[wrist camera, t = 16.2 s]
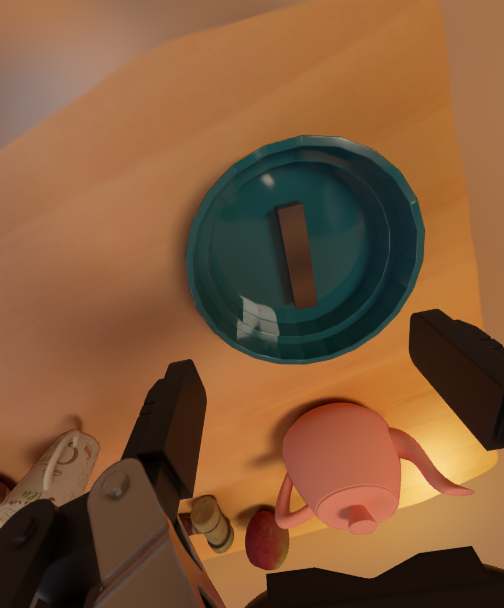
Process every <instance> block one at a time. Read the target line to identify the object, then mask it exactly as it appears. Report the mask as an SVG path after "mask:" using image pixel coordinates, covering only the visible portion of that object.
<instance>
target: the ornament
mask: <svg viewBox="0 0 504 608" xmlns="http://www.w3.org/2000/svg"><path fill="white" fill-rule="evenodd" d="M10 492H11V491H10V490H9V489H8V488H7V487H6V486H5V485H4V484H3V483H1V482H0V504H1V503H2V502H3V500H4V499H5V498H6V497H7V496H8V495H9V494H10ZM0 528H1V527H0Z"/></svg>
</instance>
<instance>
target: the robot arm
mask: <svg viewBox="0 0 504 608" xmlns="http://www.w3.org/2000/svg"><path fill="white" fill-rule="evenodd" d="M409 354H410V357H411V359H412V362H413V363H414V365H415V366H416V367H417V369H418V370H419V371H420V372H421V373H422V375H423V376H424V377H425V378H426V379H427V380H428V382H429V383H430V384H431V385H432V386H433V388H434V389H435V390H436V391H437V392H438V393H439V395H440V396H441V397H442V398H443V399H444V401H445V402H446V403H447V404H448V405H449V407H450V408H451V409H452V410H453V411H454V412H455V414H456V415H457V416H458V417H459V418H460V420H461V421H462V422H463V423H464V424H465V425H466V427H467V428H468V429H469V430H470V431H471V433H472V434H473V435H474V436H475V437H476V439H477V440H478V441H479V442H480V443H481V444H482V446H483V447H484V448H485V449H486V450H487V451H490V450H496V449H502V448H504V347H503V346H502V344H500V343H499V342H497V341H496V340H495V339H491V337H490V336H489V335H487V334H486V333H485V332H483V331H482V330H480V329H479V328H478V327H476V326H473V325H471V324H468V323H466V322H463V321H461V320H453V319H451V318H450V317H449V316H447V315H446V314H445V313H443V312H442V311H441V310H439V309H432V310H427V311H423V312H418V313H413V314H412V315H411V318H410V334H409ZM206 405H207V398H206V392H205V388H204V386H203V384H202V381H201V379H200V377H199V374H198V372H197V370H196V367H195V365H194V363H193V361H192V360H191V359H188V360H183V361H178V362H173V363H170V364H169V366H168V369H167V371H166V374H165V377H164V379H159V380H158V381H157V382H156V383H155V384H154V385H153V387H152V388H151V389H150V390H149V392H148V394H147V397H146V399H145V402H144V406H142V409H141V411H140V414H139V415H140V416H139V417H138V419H137V421H136V423H135V426H134V428H133V431H132V433H131V436H130V438H129V441H128V443H127V445H126V448H125V450H124V453H123V455H122V458H121V460H120V461H118V462H116V463H114V464H113V465H111V466H110V467H108V468H107V469H106V470H105V471H104V472H103V473H102V474H101V475H100V476H99V477H98V479H97V480H96V481H95V483H94V484H93V486H92V488H91V490H90V491H89V492H88V493H86V494H84V495H82V496H80V497H77V498H75V499H73V500H71V501H69V502H67V503H65V504H63V505H61V506H59V507H57V506H56V505H55V504H54V503H53V502H51V501H50V500H48V499H38V500H35V501H33V502H31V503H29V504H27V505H25V506H24V507H22V508H21V509H20V510H18V511H17V512H16V513H15V514H13V515H12V516H11V517H10V518H9V519H8V520H7V521H6V522H5V523H4V525H3V526H2V527H1V528H0V608H30V605H31V603H32V601H33V599H34V596H37V597H38V598H39V599H38V601H37V603H36V606H35V608H226V607H225V605H224V603H223V601H222V599H221V598H220V596H219V594H218V592H217V591H216V589H215V588H214V586H213V584H212V582H211V580H210V579H209V577H208V575H207V573H206V571H205V569H204V567H203V565H202V563H201V561H200V559H199V557H198V555H197V552H196V550H195V548H194V546H193V544H192V542H191V540H190V538H189V536H188V534H187V532H186V530H185V528H184V526H183V524H182V522H181V520H180V518H179V516H178V514H177V512H178V507H179V501H180V500H182V499H188V498H193V492H194V485H195V478H196V472H197V465H198V458H199V452H200V445H201V438H202V432H203V425H204V418H205V412H206ZM266 578H267V590H266V591H265V592H263V593H261V594H260V595H258V596H257V597H256V598H254V599H253V600H252V601H251V602H249V603H248V605H247V606H246V607H245V608H504V569H500V568H497V567H494V566H491V565H487V564H482V562H481V561H480V559H479V557H478V556H477V554H476V552H475V551H474V549H473V547H472V546H468V547H461V548H453V549H446V550H438V551H431V552H424V553H419V554H417V555H415V556H413V557H411V558H410V559H408V560H406V561H404V562H402V563H400V564H399V565H397V566H395V567H393V568H391V569H390V570H388V571H386V572H384V573H382V574H381V575H379V576H377V577H375V578H370V579H368V578H362V577H357V576H353V575H348V574H343V573H338V572H334V571H329V570H324V569H319V568H315V567H314V568H308V569H300V570H292V571H285V572H278V573H271V574H266ZM101 587H102V589H101ZM100 590H101V591H100Z"/></svg>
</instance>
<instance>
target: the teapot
mask: <svg viewBox="0 0 504 608" xmlns="http://www.w3.org/2000/svg"><path fill="white" fill-rule="evenodd" d="M282 452H283V458H284V462H285V465H286V468H287V473H286V476H285V478H284V481H283V483H282V486H281V489H280V492H279V495H278V498H277V502H276V508H275V520H276V523H277V525H278V526H279V527H280V528H283V529H290V528H293V527H295V526H297V525H299V524H301V523H303V522H305V521H306V520H308V519H309V518H311V517H312V516H314V515H316V516H317V517H318V518H319V519H320V520H321V521H322V522H323V523H324V524H326V525H328V526H330V527H332V528H336V529H343V530H349V531H350V532H351V533H352V534H356V535H366V534H369V533H372V532H373V531H375V530H376V529H377V524H378V523H380V522H382V521H384V520H386V519H388V518H389V517H390V516H391V515H393V513H395V511H396V509H397V508H398V504H399V498H400V487H401V463H400V458H402V459H406V460H409V461H411V462H413V463H414V464H415V465H416V466H417V467H418V469H419V470H420V471H421V473H422V474H423V476H424V477H425V479H426V480H427V481H428V483H429V484H430V485H431V486H432V487H433V488H435V489H436V490H438V491H439V492H441V493H444V494H447V495H454V496H466V495H472V494H474V493H475V492H474V491H472V490H470V489H467V488H464V487H462V486H459V485H457V484H454V483H453V482H451V481H450V480H448V479H446V478H445V477H444V476H443V475H442V474H441V473H440V472H439V471H438V470H437V469H436V467H435V466H434V465H433V463H432V462H431V461H430V459H429V458H428V456H427V455H426V453H425V452H424V450H423V449H422V448H421V446H420V445H419V444H418V443H417V442H416V441H415V439H414V438H412V437H411V436H410V435H408V434H407V433H405V432H403V431H401V430H399V429H395V428H391V427H389V425H388V424H387V423H386V421H385V420H384V419H383V418H382V417H381V416H379V415H378V414H377V413H375V412H374V411H372V410H370V409H367V408H365V407H362V406H359V405H356V404H352V403H332V404H327V405H322V406H319V407H317V408H314V409H312V410H310V411H308V412H306V413H305V414H303V415H302V416H301V417H300V418H298V419H297V420H296V421H295V423H294V424H293V425H292V426H291V427H290V429H289V430H288V432H287V433H286V435H285V438H284V441H283V445H282ZM293 484H294V486H295V488H296V490H297V491H298V493H299V494H300V496H301V497H302V498H303V500H304V501H305V502H306V504H307V505H306V506H304V507H303V508H301V509H300V510H298V511H296V512H293V513H290V510H289V505H290V496H291V491H292V487H293Z"/></svg>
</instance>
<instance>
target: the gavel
mask: <svg viewBox="0 0 504 608" xmlns="http://www.w3.org/2000/svg"><path fill="white" fill-rule="evenodd" d="M180 520H181V522H182V524H183V526H184V528H185V530H186V532H187V534H188V536H190V535H193V534H204V535H205V537H206V538H207V541H208V544H209V545H210V547H211V548H212V549H213V551H214V552H216V553H219V554H221V553H224V552H226V551H227V550H228V549H229V548H230V547H231V545H232V543H233V540H234V530H233V528H232V526H231V525H230V523H229V522H228V520H226V519H224V517H223V516H222V514H221V513H220V509H219V506H218V504H217V503H216V501H215V500H214V498H213V497H211V496H203V497H201V498H200V499H198V500H197V501H196V503H195V504H194V506H193V508H192V510H191V518H183V519H180Z"/></svg>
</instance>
